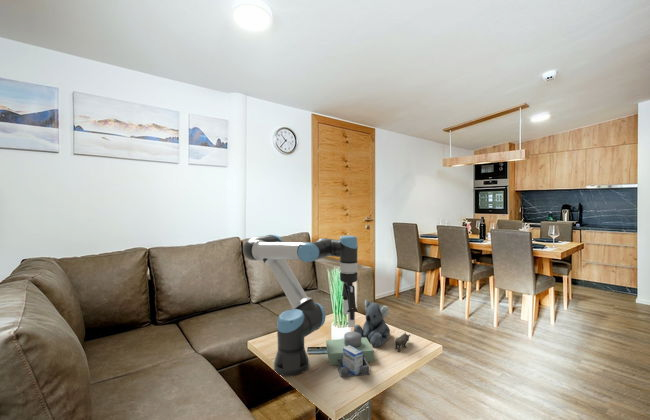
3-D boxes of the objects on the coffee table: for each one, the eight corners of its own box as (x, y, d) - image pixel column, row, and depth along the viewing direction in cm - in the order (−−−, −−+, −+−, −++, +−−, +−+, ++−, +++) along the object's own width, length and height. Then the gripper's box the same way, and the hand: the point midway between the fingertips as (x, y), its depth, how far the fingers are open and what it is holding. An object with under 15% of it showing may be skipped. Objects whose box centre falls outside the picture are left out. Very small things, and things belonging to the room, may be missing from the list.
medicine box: (342, 367, 128) (342, 347, 128) (349, 363, 131) (349, 344, 131) (355, 375, 122) (355, 354, 122) (363, 371, 125) (362, 351, 125)
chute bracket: (340, 377, 121) (340, 369, 121) (336, 365, 130) (336, 357, 130) (369, 374, 123) (369, 366, 123) (364, 363, 132) (363, 355, 131)
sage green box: (330, 365, 131) (329, 345, 130) (326, 350, 144) (326, 332, 144) (374, 361, 133) (373, 341, 133) (366, 347, 146) (366, 329, 146)
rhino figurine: (413, 342, 150) (413, 331, 150) (400, 353, 140) (400, 340, 140) (405, 340, 153) (405, 329, 153) (392, 350, 143) (392, 338, 143)
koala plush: (351, 337, 157) (350, 301, 156) (372, 327, 169) (371, 294, 168) (377, 349, 144) (377, 309, 144) (398, 337, 156) (398, 301, 156)
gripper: (363, 279, 116) (363, 332, 117) (351, 265, 141) (351, 309, 141) (344, 279, 115) (344, 333, 116) (336, 265, 140) (336, 309, 141)
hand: (348, 320), depth 129 cm, fingers open, 13 cm apart
